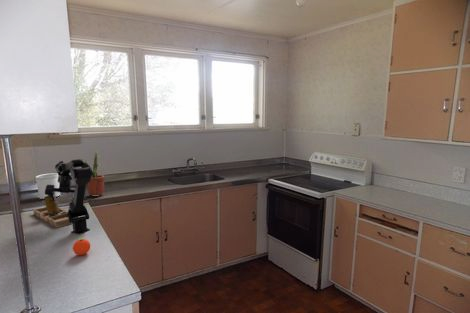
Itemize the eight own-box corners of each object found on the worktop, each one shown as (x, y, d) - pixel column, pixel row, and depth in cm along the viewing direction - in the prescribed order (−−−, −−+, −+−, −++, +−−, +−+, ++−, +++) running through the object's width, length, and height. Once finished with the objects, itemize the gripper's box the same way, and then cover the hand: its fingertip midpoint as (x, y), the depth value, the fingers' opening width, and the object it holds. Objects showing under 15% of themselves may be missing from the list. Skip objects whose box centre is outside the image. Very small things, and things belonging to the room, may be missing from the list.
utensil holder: (36, 201, 215) (33, 178, 212) (40, 196, 228) (37, 174, 226) (59, 198, 221) (57, 175, 218) (62, 194, 234) (59, 172, 232)
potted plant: (104, 192, 236) (100, 149, 231) (107, 196, 223) (104, 151, 218) (80, 196, 227) (75, 151, 222) (82, 200, 214) (77, 153, 209)
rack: (78, 221, 171) (78, 216, 170) (55, 227, 162) (55, 222, 161) (54, 209, 194) (54, 205, 194) (33, 214, 185) (33, 209, 185)
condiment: (55, 213, 183) (49, 195, 182) (65, 211, 180) (60, 192, 179) (45, 217, 176) (39, 198, 175) (56, 215, 173) (49, 195, 172)
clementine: (70, 254, 130) (68, 238, 129) (86, 248, 135) (84, 234, 134) (77, 259, 125) (75, 244, 124) (93, 253, 130) (92, 238, 129)
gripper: (85, 173, 175) (82, 192, 183) (48, 170, 167) (47, 190, 175) (83, 186, 167) (80, 205, 175) (44, 183, 159) (43, 203, 166)
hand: (63, 201), depth 173 cm, fingers open, 9 cm apart
